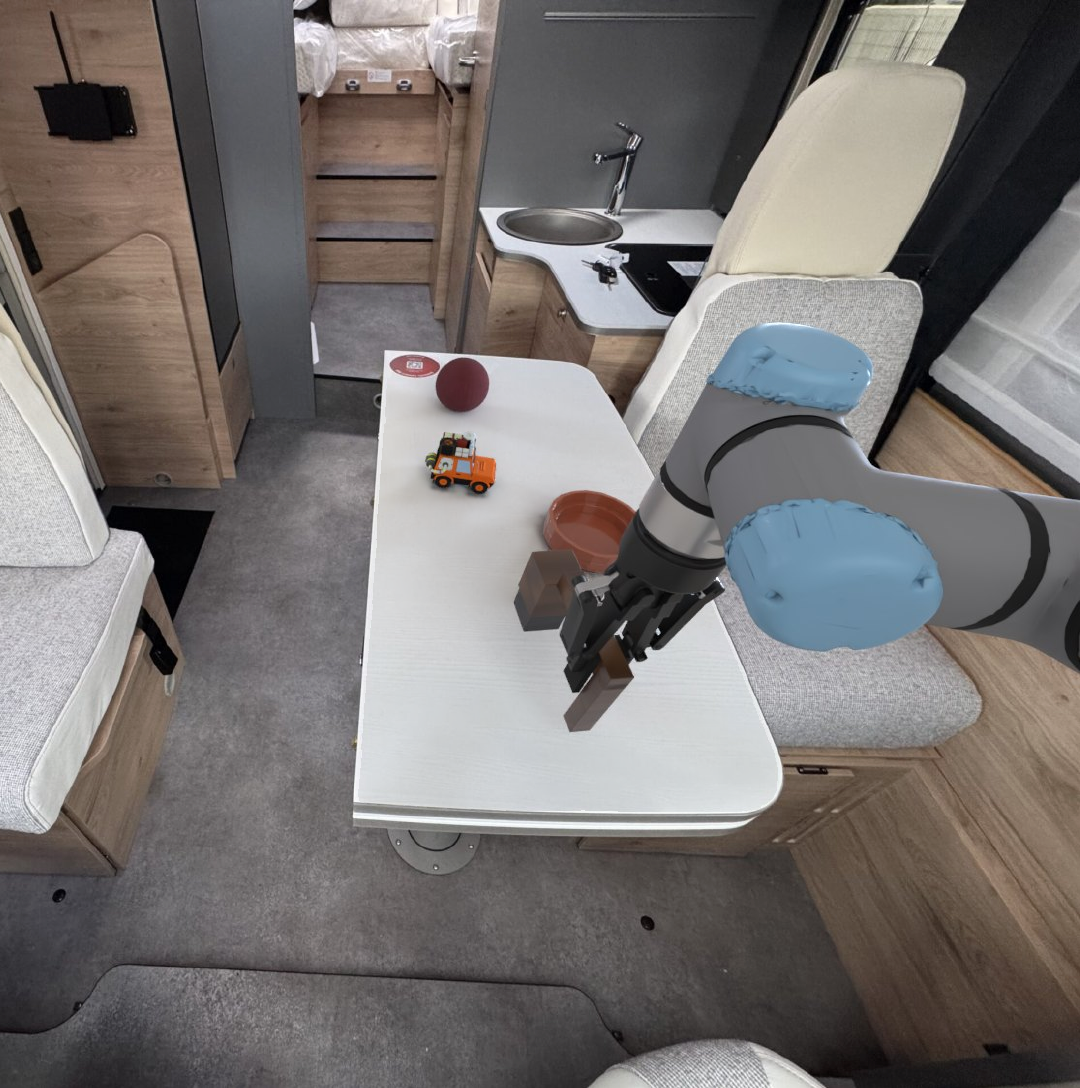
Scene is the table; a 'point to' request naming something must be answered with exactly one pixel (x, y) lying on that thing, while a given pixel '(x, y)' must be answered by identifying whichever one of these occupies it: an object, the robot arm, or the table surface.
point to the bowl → (588, 527)
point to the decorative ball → (462, 384)
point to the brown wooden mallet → (545, 609)
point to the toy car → (461, 463)
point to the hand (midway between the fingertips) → (585, 680)
